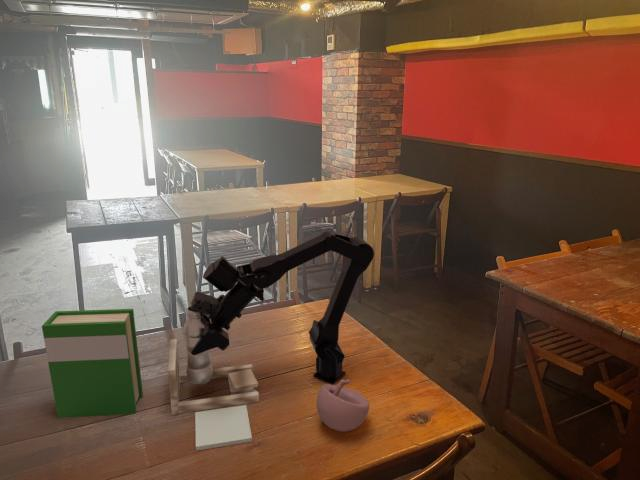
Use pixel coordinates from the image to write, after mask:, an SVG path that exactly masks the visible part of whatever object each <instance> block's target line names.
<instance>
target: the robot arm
mask: <svg viewBox="0 0 640 480" xmlns="http://www.w3.org/2000/svg"><path fill="white" fill-rule="evenodd" d="M328 252H334V253H337V254H339V255H341V256H342V268H341V271H340V274H339V277H338V279H337V281H336V284H335V286H334V288H333V290H332V291H333V292H332V294H331V297H330V300H329V302H328V304H327V307H326V309H325V312H324V315H323V317H322V318H320V320H313V321H312V324H311V328H310V330H308V334H309V341H310V343H311V345H312V347H313V350H314V351H315V353H316V358H315V372H314V374H313V378H315V379H318V380H320V381H323V382H325V383H327V384H331V385H335V384H336V383H337V381H340V379H341V378H342V377H344V376H345V375H346V371H344V370H343V362H344V360H345V357H346V356H345V353H344V352H343V350H342V349H341V346H340V345H339V338H340V337H339V335H340V333H339V330H340V329H339V328H340V324H341V322H342V319H343V317H344V315H345V312H346V309H347V306H348V304H349V303H350V302H349V301H350V299H351V297H352V295H353V292H354V289H355V286H356V285H357V282H358V279H359V277H361V275H362V274H364V273H365V272H366V271H367V269H368V268H369V266H370V264H371V263H372V261H373V259H374V257H375V251H374V248H373V247H372V246H371V245H370V244H369V242H367V241H366V240H365V239H364V238H362V237H360V236H355V237H354V236H352V237H350V236H347V235H343V234H340V233H339V234H338V233H335V232H333V231H331V230H327V231H324V232H322V233H321V234H320V235H317V236H316V237H313V238H311V239H308V240H307V241H305V242H303V243H301V244H299V245H297V246H295V247H293V248H291V249H288V250H286V251H284V252H282V253H278V254H272V255H271V254H270V255H266V256H263V257H259V258H256V259H254V260H253V261H252V262H250V263H246V264H241V265H237V266H234V265H233V264H232V263H231V262H229V260H228V259H227V258H226V257H225V256H220V258H218V259H217V260H214V262H211V263H210V264H209V265H208V266H207V268H206V269H205V270H204V272H203V274H202V278H203V279H204V280H206V282H208V283H209V284H211V285H212V286H213V287H215V289H217V290H218V291H220V292H221V293H222V292H223V293H224V292H225V294H219V295H218V297H214V296H212V295H210V294H206V293H203V292H200V291H195V293H194V295H193V297H192V300H191V302H190V306H191V309H192V310H193V311H195V312H201V313H204V315H203V317H204V318H205V319H206V320H207V321H208V323H209V324H208V325H207V326H206V327H205V329H203V328H202V337H201V338H200V340H199V341H198V342H197V344H196V345H195V347H194V348H193V350H192V351H191V354H192V355H197V354H199V353H202V352H204V351H207V350H209V351H210V350H213V349H215V348H218V349H220V351H226V349H227V348H229V346H230V338H229V337H230V336H229V333H228V332H227V331H229V330H230V328H231V324H232V323H233V322H234V321H235V320H236V319H237V318H238V319H240V318H241V317H242V312H243V311H244V310H245V308H247V307H248V305H250V304H251V302H252V301H253V300H254V299H255V298H257V300H259V301H261V302H264V300H265V297H264V292H265V289H268V288H270V287H271V286H272V285H274V284H275V283H277V282H279V281H280V280H281V279H282V278H283V277H284V275H285V274H287V273H288V272H289V271H291V270H293V269H295V268H298V267H299V266H301V265H303V264H306V263H307V262H309V261H311V260H314V259H316V258H319V256H322V255H324V254H326V253H328ZM224 329H225V330H226V331H225V330H224Z"/></svg>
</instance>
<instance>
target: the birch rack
mask: <svg viewBox="0 0 640 480" xmlns="http://www.w3.org/2000/svg"><path fill="white" fill-rule="evenodd" d="M177 339H178V338H172V339H170V341H169V351H168V353H169V354H168V363H167V364H168V366H167V375H168V377H167V378H168V386H169V388H168V389H169V396H170V397H169V398H170V409H171V415H172V416H173V415H179V414H185V413H191V412H192V413H193V412H200V411H207V410H214V409H221V408H228V407H235V406H242V405H246V404H247V405H248V404H253V403H259V402H260V394H259V391H257V390H256V391H257V392H249V393H242V394H235V395H231V394H230V395H223V396H222V395H221V396H215V397H214V396H213V397H208V398H200V399H192V400H186V401H180V396H181V394H180V392H181V384H182V383H191V382H190V381H189V380H188V377H187V374H186V372H185V371H184V372H181V371H180V363H179V361H180V360H179V352H178V351H179V349H178V340H177ZM247 369H251V371H252V373H253V374H254V367H253V363H249V364H241V365H232V366H224V367H217V368H213V375H212V378H211V379H210V380H212V379H221V378H228V373H233V372H238V371H242V370H247Z"/></svg>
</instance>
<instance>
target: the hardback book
mask: <svg viewBox="0 0 640 480" xmlns="http://www.w3.org/2000/svg"><path fill="white" fill-rule="evenodd" d="M41 329H42V330H41V331H42V335H43V341H44V347H45V352H46V357H47V362H48V363H47V364H48V368H49V369H48V370H49V374H50V380H51V386H52V391H53V397H54V403H55V409H56V413H57V419H63V418H66V419H67V418H81V417H82V418H84V417H85V418H86V417H99V416H100V417H102V416H103V417H104V416H121V415H136V414H137V402H138V398H139V399H140V398H143V397H144V393H143V392H144V391H143V383H142V374H141V367H140V366H141V365H140V358H139V357H140V355H139V347H138V340H137V339H138V338H137V331H136V329H137V328H136V321H135V312H134V308H117V309H116V308H114V309H111V308H110V309H89V310H87V309H85V310H81V309H80V310H58V311H57V310H56V311H54V313H52V315H51V316H49V317H48V319H47V320H46V321H45V322H43V324H42V325H41Z"/></svg>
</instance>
